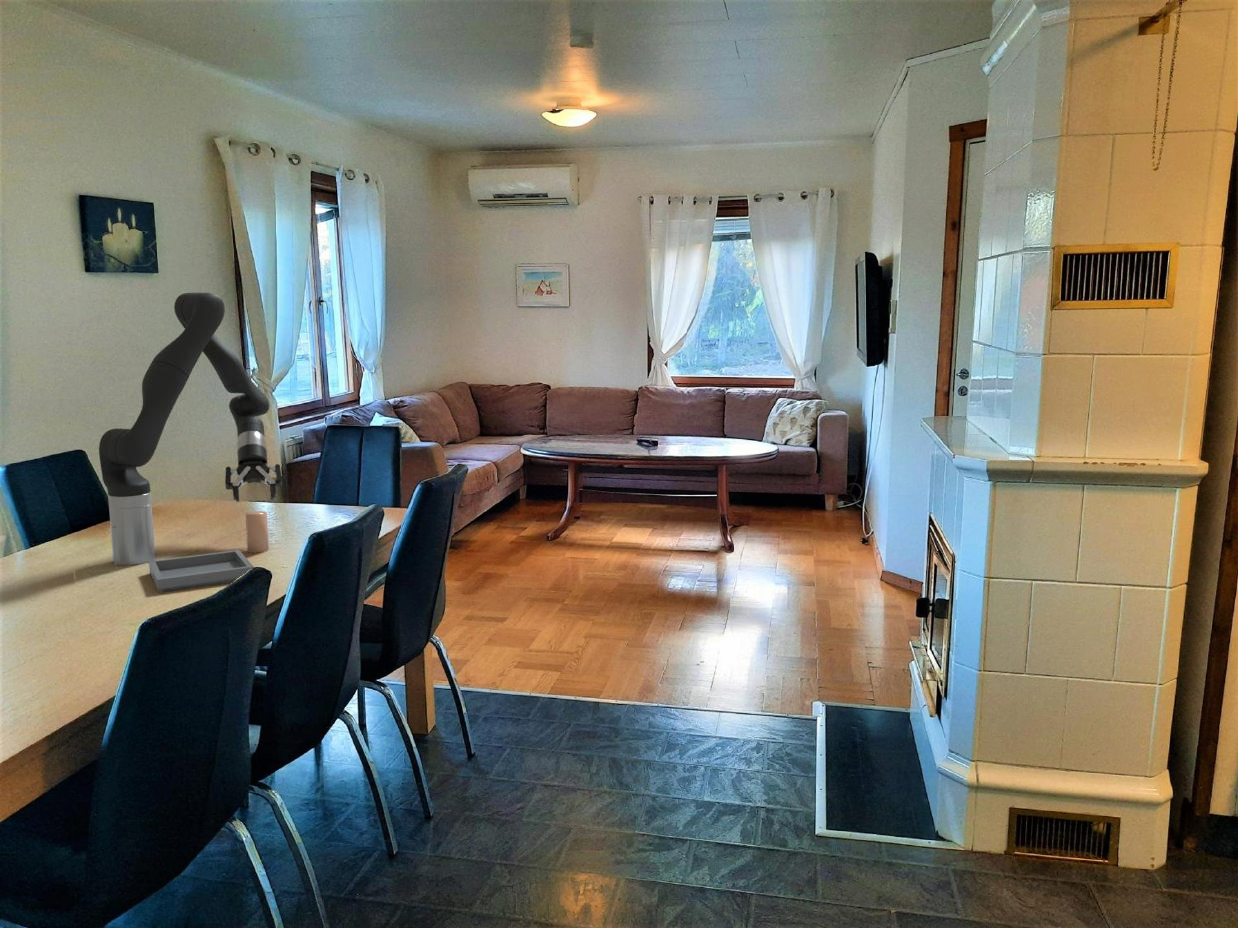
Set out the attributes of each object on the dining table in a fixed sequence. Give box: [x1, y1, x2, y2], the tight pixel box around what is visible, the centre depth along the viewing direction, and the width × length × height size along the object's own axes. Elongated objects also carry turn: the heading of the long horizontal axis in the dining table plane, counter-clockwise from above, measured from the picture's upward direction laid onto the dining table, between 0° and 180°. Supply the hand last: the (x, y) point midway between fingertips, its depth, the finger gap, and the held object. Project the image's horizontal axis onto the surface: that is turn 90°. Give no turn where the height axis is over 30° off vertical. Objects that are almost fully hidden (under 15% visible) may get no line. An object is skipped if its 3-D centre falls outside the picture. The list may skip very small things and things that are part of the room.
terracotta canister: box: [244, 510, 270, 554], centre depth 229 cm, size 5×5×10 cm
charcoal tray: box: [148, 549, 255, 594], centre depth 206 cm, size 20×18×3 cm
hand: (255, 499), depth 235 cm, fingers open, 8 cm apart
